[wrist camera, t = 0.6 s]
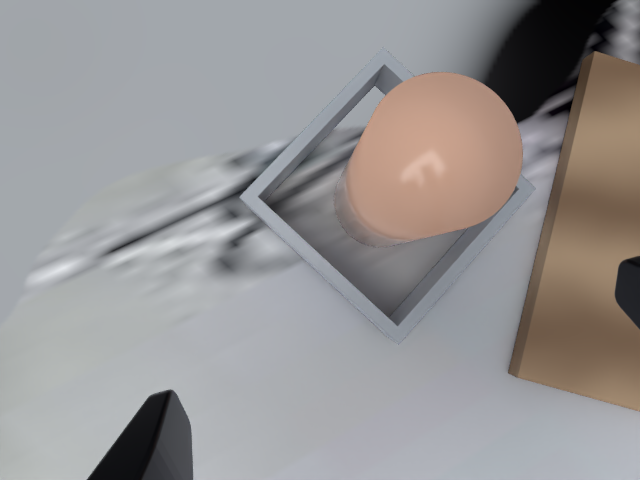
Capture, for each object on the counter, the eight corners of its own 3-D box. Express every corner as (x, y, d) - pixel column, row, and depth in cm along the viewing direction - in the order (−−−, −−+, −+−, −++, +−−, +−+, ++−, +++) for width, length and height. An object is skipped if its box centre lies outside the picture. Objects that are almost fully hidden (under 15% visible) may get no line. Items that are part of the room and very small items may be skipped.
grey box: (510, 196, 24) (535, 188, 21) (387, 336, 23) (398, 344, 21) (374, 70, 24) (383, 47, 22) (244, 205, 23) (239, 197, 21)
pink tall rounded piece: (413, 258, 23) (501, 249, 13) (323, 232, 23) (346, 204, 13) (436, 170, 24) (538, 98, 14) (348, 143, 24) (388, 52, 14)
